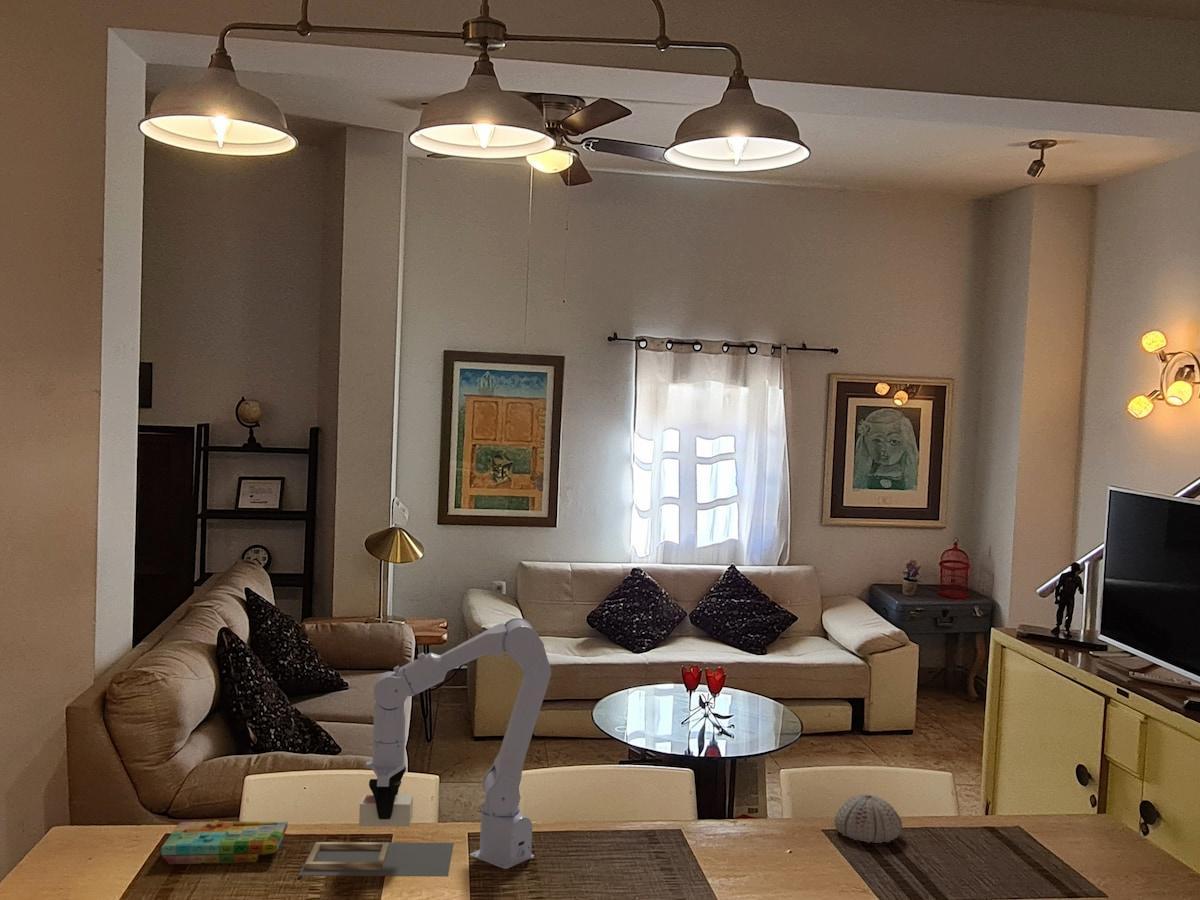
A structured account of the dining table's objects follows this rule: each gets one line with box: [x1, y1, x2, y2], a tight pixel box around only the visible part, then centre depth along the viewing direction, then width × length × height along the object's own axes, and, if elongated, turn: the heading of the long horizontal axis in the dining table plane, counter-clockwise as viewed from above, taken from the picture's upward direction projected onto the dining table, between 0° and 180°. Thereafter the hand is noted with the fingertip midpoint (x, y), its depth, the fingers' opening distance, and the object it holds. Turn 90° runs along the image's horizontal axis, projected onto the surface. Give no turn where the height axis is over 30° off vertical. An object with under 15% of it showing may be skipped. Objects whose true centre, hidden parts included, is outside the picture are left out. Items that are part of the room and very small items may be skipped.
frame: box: [304, 841, 389, 870], centre depth 193 cm, size 14×10×1 cm
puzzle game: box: [160, 819, 289, 865], centre depth 195 cm, size 12×5×20 cm
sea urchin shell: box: [834, 794, 903, 844], centre depth 214 cm, size 13×14×8 cm
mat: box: [298, 841, 455, 879], centre depth 193 cm, size 26×15×1 cm, turn 94°
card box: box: [358, 794, 414, 827], centre depth 193 cm, size 9×5×4 cm, turn 94°
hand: (386, 812), depth 193 cm, fingers closed on card box, 5 cm apart
